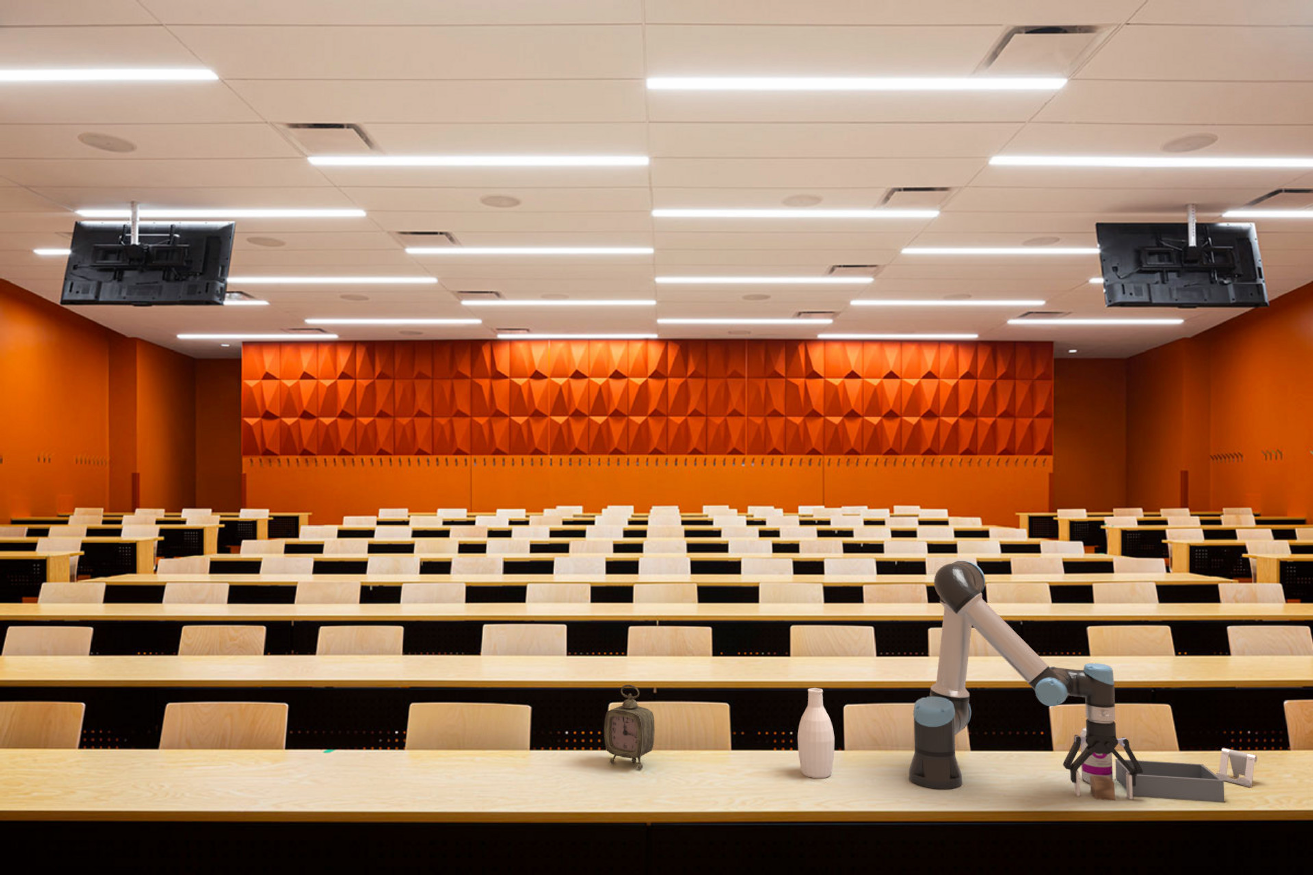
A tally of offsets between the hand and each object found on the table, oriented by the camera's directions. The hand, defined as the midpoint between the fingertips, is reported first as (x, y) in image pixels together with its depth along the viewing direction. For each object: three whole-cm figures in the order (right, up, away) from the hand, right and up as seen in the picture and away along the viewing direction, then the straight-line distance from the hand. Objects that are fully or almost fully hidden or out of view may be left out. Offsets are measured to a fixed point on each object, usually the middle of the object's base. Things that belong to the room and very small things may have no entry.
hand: (1103, 795), depth 244 cm
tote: (+21, 0, +5) cm, 22 cm away
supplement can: (+5, -1, +12) cm, 13 cm away
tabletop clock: (-135, -2, +29) cm, 138 cm away
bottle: (-78, -2, +20) cm, 80 cm away
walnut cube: (0, 0, 0) cm, 0 cm away
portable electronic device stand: (+47, -1, +12) cm, 48 cm away
